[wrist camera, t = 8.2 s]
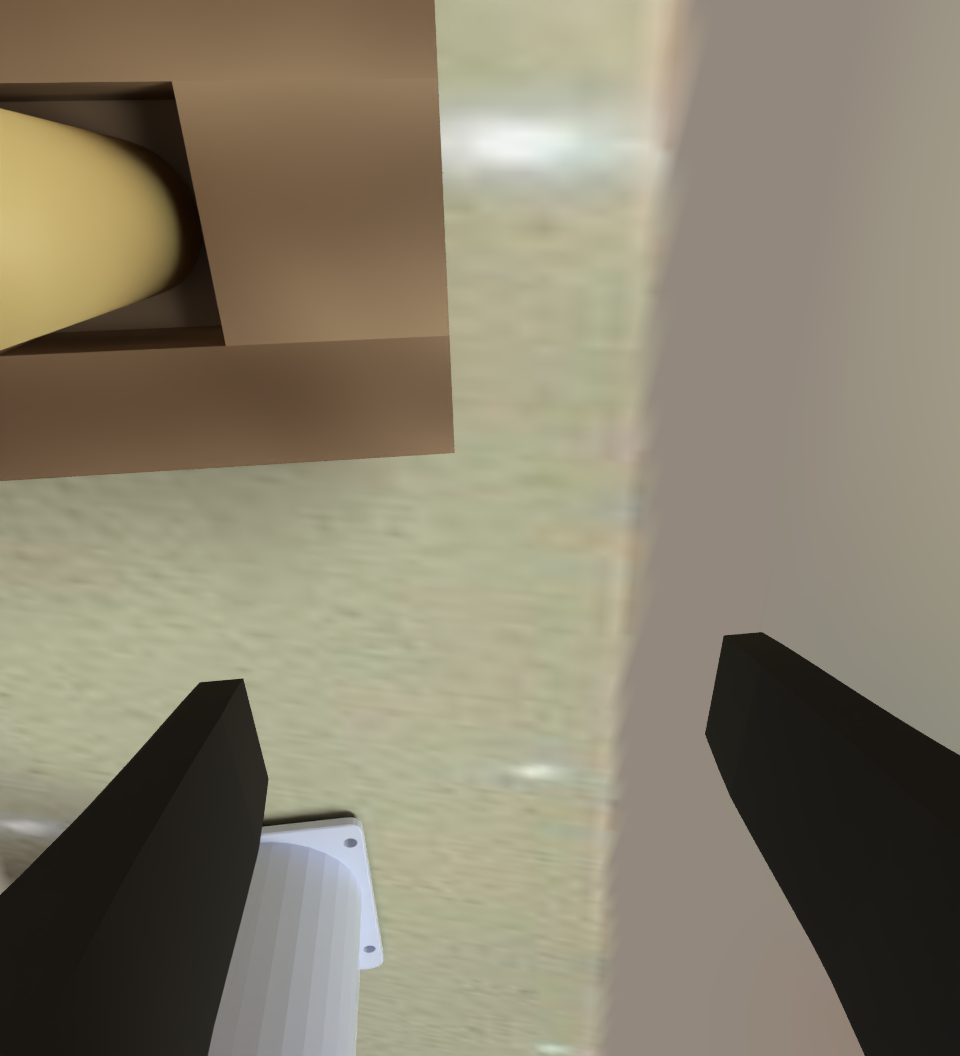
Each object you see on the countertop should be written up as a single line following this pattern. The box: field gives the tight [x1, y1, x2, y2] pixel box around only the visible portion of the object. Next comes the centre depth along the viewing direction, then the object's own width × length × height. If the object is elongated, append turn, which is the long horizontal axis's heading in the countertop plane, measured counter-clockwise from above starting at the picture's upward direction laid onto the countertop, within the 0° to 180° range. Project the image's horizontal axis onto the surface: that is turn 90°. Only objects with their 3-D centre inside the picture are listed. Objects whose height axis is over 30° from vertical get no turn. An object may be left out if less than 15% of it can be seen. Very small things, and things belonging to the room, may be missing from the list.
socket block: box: [0, 0, 454, 481], centre depth 14 cm, size 10×14×3 cm
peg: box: [0, 108, 201, 350], centre depth 11 cm, size 3×3×7 cm
